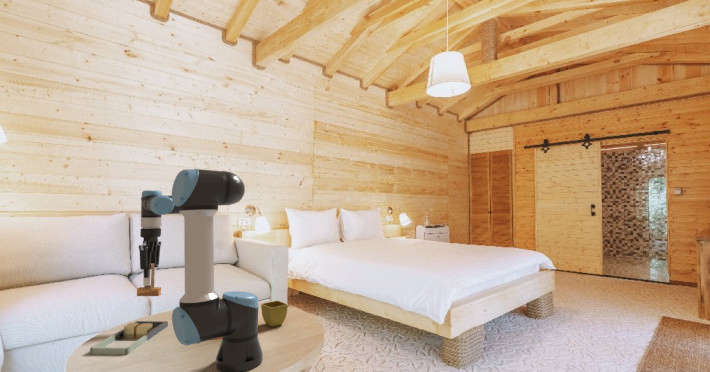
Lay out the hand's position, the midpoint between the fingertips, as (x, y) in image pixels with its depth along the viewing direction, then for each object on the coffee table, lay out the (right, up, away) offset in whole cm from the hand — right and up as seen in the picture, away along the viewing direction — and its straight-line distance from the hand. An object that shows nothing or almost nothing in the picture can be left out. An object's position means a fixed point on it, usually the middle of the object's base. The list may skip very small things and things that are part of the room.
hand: (149, 284), depth 154 cm
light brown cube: (+2, -18, -8) cm, 20 cm away
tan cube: (-3, -18, -8) cm, 20 cm away
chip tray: (0, -19, -19) cm, 27 cm away
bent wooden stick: (0, -5, 0) cm, 5 cm away
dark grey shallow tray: (0, -19, -5) cm, 20 cm away
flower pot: (+50, -20, +9) cm, 54 cm away
